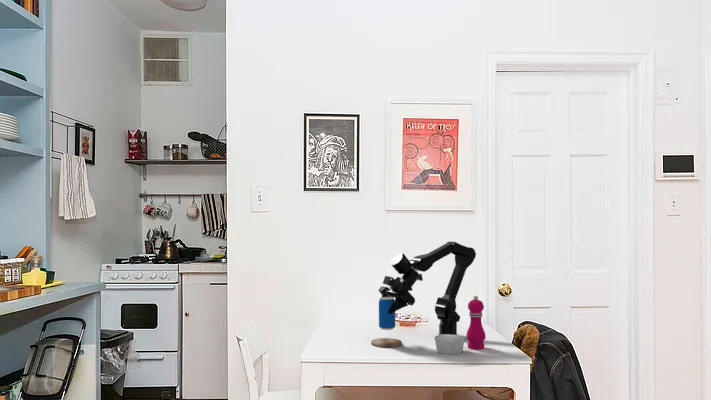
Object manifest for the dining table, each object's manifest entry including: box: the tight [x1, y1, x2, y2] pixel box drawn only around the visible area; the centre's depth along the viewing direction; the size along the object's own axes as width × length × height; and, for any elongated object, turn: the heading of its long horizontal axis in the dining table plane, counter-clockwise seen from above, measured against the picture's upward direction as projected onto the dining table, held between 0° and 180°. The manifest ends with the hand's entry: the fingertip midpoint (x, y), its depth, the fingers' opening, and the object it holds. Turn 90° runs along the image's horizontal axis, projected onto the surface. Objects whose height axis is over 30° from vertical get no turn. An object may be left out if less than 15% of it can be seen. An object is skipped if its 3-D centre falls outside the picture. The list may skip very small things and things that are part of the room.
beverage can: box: [378, 296, 396, 331], centre depth 222 cm, size 6×6×12 cm
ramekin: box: [434, 334, 466, 355], centre depth 211 cm, size 11×11×5 cm
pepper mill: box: [465, 295, 486, 351], centre depth 216 cm, size 7×7×20 cm
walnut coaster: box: [370, 337, 403, 348], centre depth 222 cm, size 12×12×1 cm
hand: (384, 312), depth 222 cm, fingers closed on beverage can, 6 cm apart
